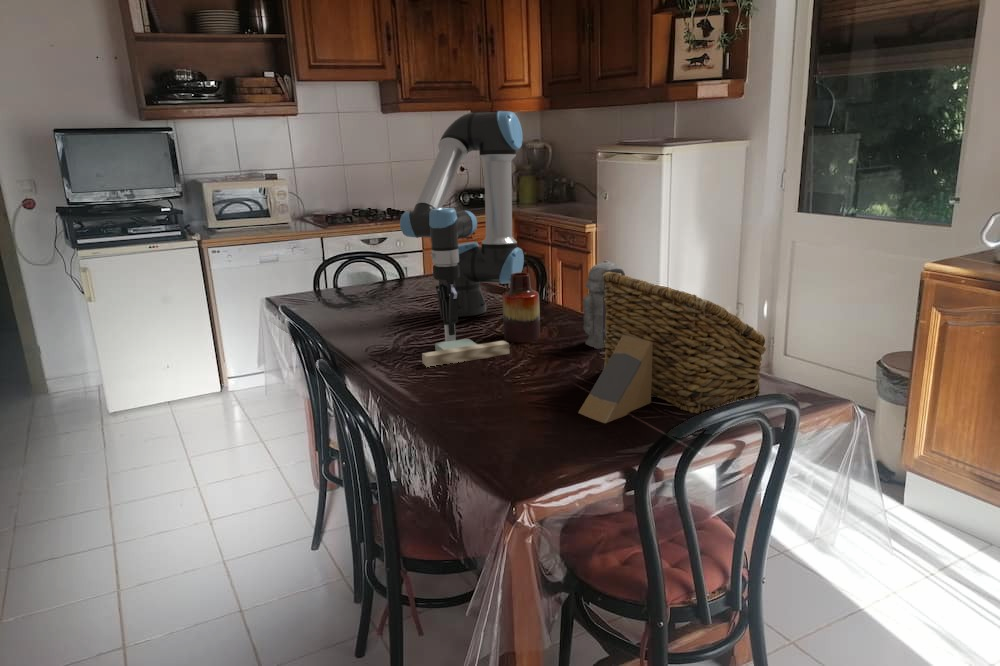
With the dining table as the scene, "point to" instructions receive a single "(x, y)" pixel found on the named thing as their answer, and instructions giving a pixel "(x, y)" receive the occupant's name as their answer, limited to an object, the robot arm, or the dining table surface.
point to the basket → (685, 343)
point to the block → (454, 344)
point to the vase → (521, 310)
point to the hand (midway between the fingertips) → (450, 344)
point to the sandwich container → (622, 382)
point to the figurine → (597, 304)
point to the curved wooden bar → (465, 353)
